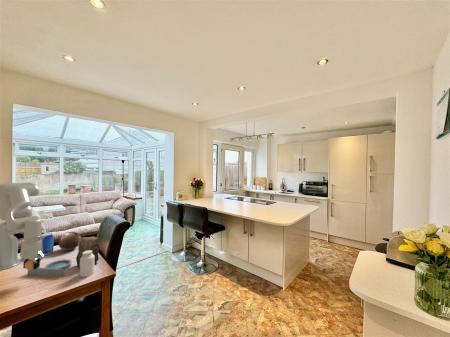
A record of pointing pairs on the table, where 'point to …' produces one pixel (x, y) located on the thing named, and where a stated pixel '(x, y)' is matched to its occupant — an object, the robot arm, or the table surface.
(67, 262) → the bowl
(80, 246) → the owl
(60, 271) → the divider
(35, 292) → the table surface
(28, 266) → the ball
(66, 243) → the wooden sphere
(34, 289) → the table surface
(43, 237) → the beer can
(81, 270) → the pill bottle
